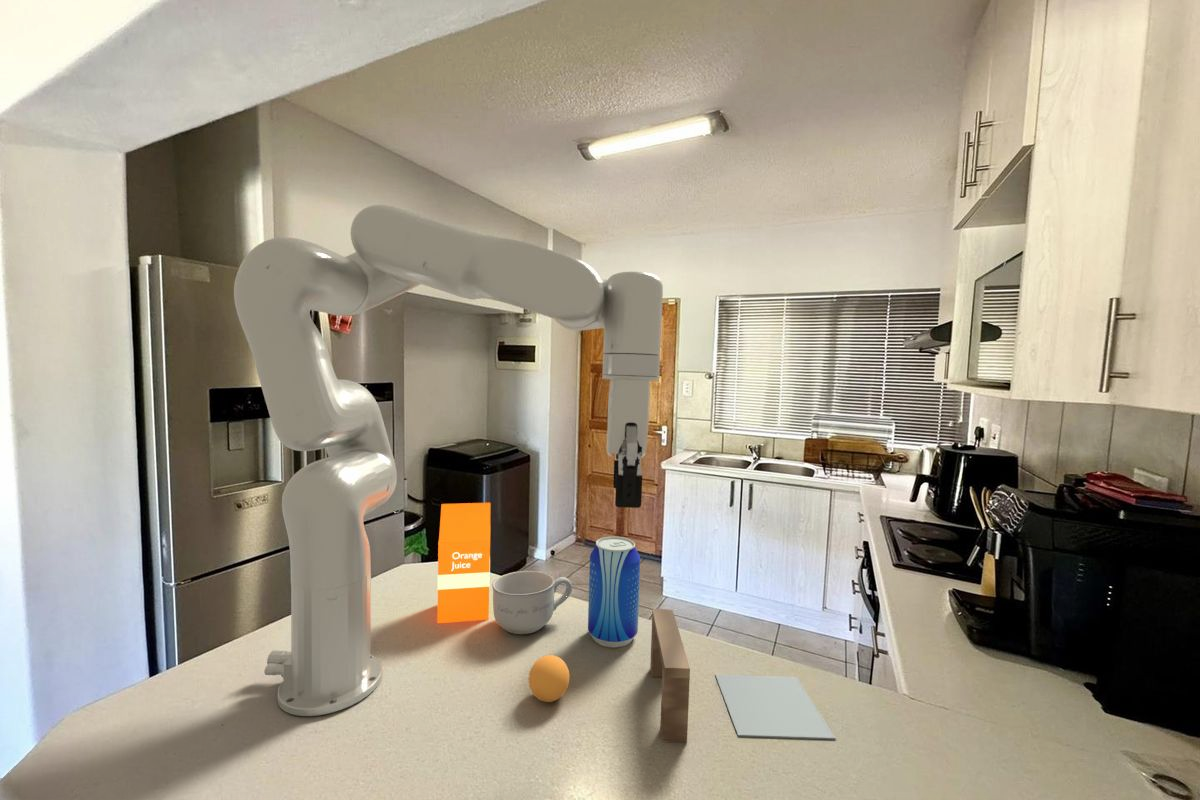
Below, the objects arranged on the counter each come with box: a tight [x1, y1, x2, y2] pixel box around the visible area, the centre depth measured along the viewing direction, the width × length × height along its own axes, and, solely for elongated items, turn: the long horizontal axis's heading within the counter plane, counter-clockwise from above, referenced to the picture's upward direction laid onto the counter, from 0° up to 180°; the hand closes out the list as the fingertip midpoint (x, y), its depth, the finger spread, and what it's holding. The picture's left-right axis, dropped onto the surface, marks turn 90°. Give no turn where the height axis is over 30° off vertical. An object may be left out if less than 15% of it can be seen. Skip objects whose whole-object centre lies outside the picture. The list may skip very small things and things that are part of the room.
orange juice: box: [437, 502, 491, 624], centre depth 88 cm, size 8×9×20 cm
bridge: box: [650, 608, 691, 743], centre depth 65 cm, size 3×14×9 cm, turn 0°
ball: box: [528, 654, 571, 703], centre depth 66 cm, size 6×6×6 cm
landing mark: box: [715, 674, 837, 740], centre depth 66 cm, size 12×12×1 cm
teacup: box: [491, 570, 573, 635], centre depth 84 cm, size 14×11×8 cm
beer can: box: [587, 536, 641, 648], centre depth 81 cm, size 8×8×16 cm
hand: (626, 496), depth 65 cm, fingers open, 9 cm apart
